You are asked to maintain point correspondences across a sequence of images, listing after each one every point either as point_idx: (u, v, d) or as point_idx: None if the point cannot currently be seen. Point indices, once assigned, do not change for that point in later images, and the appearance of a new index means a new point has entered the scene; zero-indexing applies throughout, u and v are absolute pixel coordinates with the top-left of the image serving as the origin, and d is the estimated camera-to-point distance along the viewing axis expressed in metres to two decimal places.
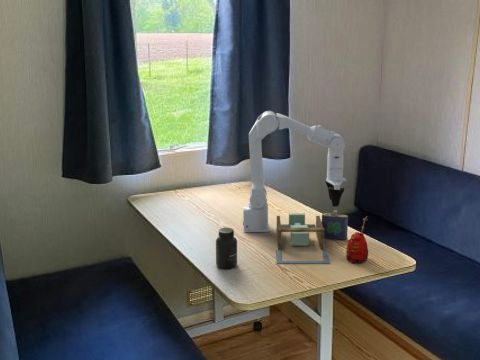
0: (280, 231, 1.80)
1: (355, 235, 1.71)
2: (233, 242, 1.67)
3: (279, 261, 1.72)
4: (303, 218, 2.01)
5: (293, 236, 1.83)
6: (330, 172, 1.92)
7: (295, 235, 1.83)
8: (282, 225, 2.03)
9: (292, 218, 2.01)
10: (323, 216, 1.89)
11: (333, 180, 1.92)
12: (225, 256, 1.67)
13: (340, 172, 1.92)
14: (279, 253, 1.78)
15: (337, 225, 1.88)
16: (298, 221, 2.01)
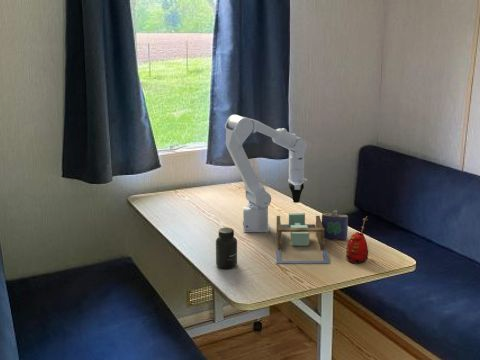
0: (280, 231, 1.80)
1: (355, 235, 1.71)
2: (233, 242, 1.67)
3: (279, 261, 1.72)
4: (303, 218, 2.01)
5: (293, 236, 1.83)
6: (291, 173, 2.01)
7: (295, 235, 1.83)
8: (282, 225, 2.03)
9: (292, 218, 2.01)
10: (323, 216, 1.89)
11: (294, 180, 2.01)
12: (225, 256, 1.67)
13: (301, 173, 2.00)
14: (279, 253, 1.78)
15: (337, 225, 1.88)
16: (298, 221, 2.01)
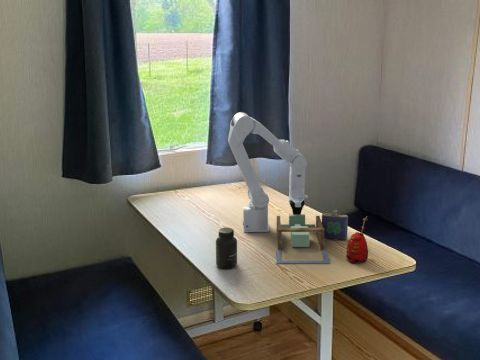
0: (280, 231, 1.80)
1: (355, 235, 1.71)
2: (233, 242, 1.67)
3: (279, 261, 1.72)
4: (303, 219, 2.00)
5: (293, 237, 1.82)
6: (292, 190, 1.98)
7: (295, 236, 1.82)
8: (282, 225, 2.03)
9: (292, 219, 2.00)
10: (323, 216, 1.89)
11: (295, 197, 1.98)
12: (225, 256, 1.67)
13: (301, 190, 1.97)
14: (279, 253, 1.78)
15: (337, 225, 1.88)
16: (298, 222, 2.00)
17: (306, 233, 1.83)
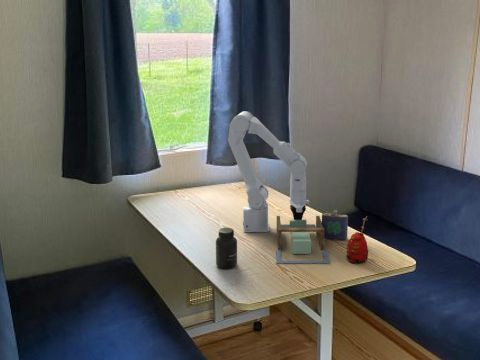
0: (280, 231, 1.80)
1: (355, 235, 1.71)
2: (233, 242, 1.67)
3: (279, 261, 1.72)
4: (304, 225, 1.94)
5: (294, 244, 1.77)
6: (293, 194, 1.92)
7: (296, 243, 1.77)
8: (282, 225, 2.03)
9: (293, 225, 1.95)
10: (323, 216, 1.89)
11: (296, 202, 1.92)
12: (225, 256, 1.67)
13: (303, 194, 1.92)
14: (279, 253, 1.78)
15: (337, 225, 1.88)
16: None
17: (307, 239, 1.78)
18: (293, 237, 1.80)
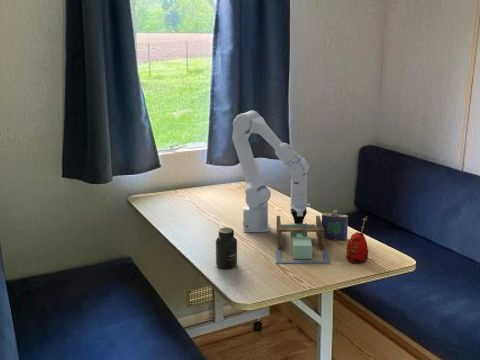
0: (280, 231, 1.80)
1: (355, 235, 1.71)
2: (233, 242, 1.67)
3: (279, 261, 1.72)
4: None
5: (295, 249, 1.73)
6: (293, 198, 1.88)
7: (297, 248, 1.73)
8: (282, 225, 2.03)
9: None
10: (323, 216, 1.89)
11: (296, 206, 1.89)
12: (225, 256, 1.67)
13: (303, 198, 1.88)
14: (279, 253, 1.78)
15: (337, 225, 1.88)
16: (300, 232, 1.91)
17: (308, 244, 1.74)
18: (294, 242, 1.76)
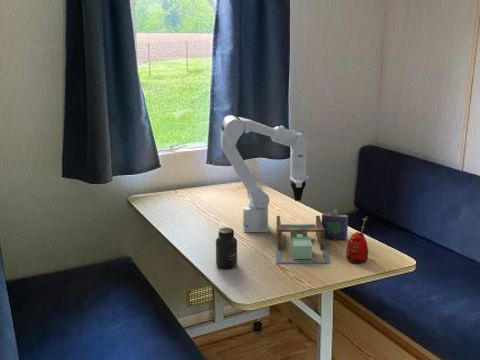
0: (280, 231, 1.80)
1: (355, 235, 1.71)
2: (233, 242, 1.67)
3: (279, 261, 1.72)
4: None
5: (295, 249, 1.73)
6: (293, 170, 1.96)
7: (297, 248, 1.73)
8: (282, 225, 2.03)
9: None
10: (323, 216, 1.89)
11: (296, 178, 1.96)
12: (225, 256, 1.67)
13: (302, 170, 1.96)
14: (279, 253, 1.78)
15: (337, 225, 1.88)
16: (300, 232, 1.91)
17: (308, 244, 1.74)
18: (294, 242, 1.76)
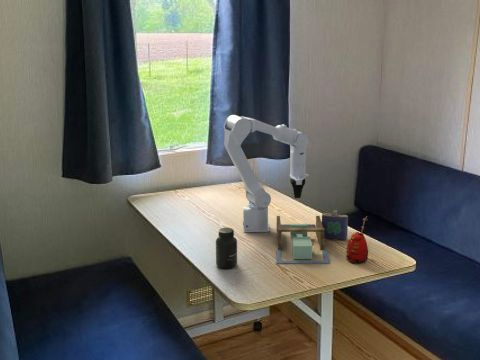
0: (280, 231, 1.80)
1: (355, 235, 1.71)
2: (233, 242, 1.67)
3: (279, 261, 1.72)
4: None
5: (295, 249, 1.73)
6: (293, 168, 1.99)
7: (297, 248, 1.73)
8: (282, 225, 2.03)
9: None
10: (323, 216, 1.89)
11: (296, 176, 2.00)
12: (225, 256, 1.67)
13: (302, 168, 1.99)
14: (279, 253, 1.78)
15: (337, 225, 1.88)
16: (300, 232, 1.91)
17: (308, 244, 1.74)
18: (294, 242, 1.76)
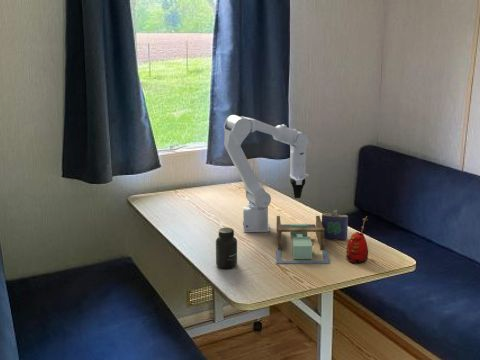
0: (280, 231, 1.80)
1: (355, 235, 1.71)
2: (233, 242, 1.67)
3: (279, 261, 1.72)
4: None
5: (295, 249, 1.73)
6: (293, 168, 1.99)
7: (297, 248, 1.73)
8: (282, 225, 2.03)
9: None
10: (323, 216, 1.89)
11: (296, 176, 2.00)
12: (225, 256, 1.67)
13: (302, 168, 1.99)
14: (279, 253, 1.78)
15: (337, 225, 1.88)
16: (300, 232, 1.91)
17: (308, 244, 1.74)
18: (294, 242, 1.76)
